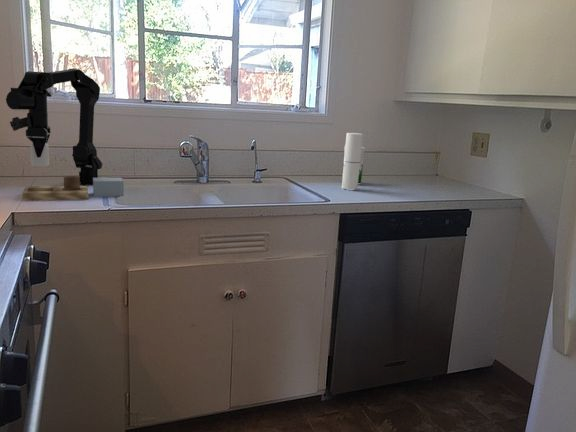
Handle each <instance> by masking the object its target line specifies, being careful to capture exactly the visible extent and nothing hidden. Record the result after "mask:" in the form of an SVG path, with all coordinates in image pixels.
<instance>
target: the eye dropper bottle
mask: <svg viewBox="0 0 576 432" xmlns="http://www.w3.org/2000/svg"><path fill="white" fill-rule="evenodd" d="M49 146H50V145H49V144H48V142H47V143H46V144H45V146H44V149H43V152H42V155H41V157H37V156H36V152H35V149H34V145H33V142H31V143H30V147H29V149H30V165H31V166H32V167H35V168H36V167H37V168H38V167H39V168H40V167H41V168H42V167H49V166H50V150H49V149H50V148H49Z"/></svg>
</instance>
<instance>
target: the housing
mask: <svg viewBox="0 0 576 432" xmlns="http://www.w3.org/2000/svg"><path fill="white" fill-rule="evenodd" d="M92 187H93V188H92V189H93V190H92V193H93V197H94V198H95V197H99V198H102V197H107V198H108V197H124V196H125V193H124V188H125V187H124V179H123V178H122V177H98V178H93V185H92Z"/></svg>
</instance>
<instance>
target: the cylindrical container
mask: <svg viewBox="0 0 576 432" xmlns="http://www.w3.org/2000/svg"><path fill="white" fill-rule="evenodd" d="M363 135H364V134H363V133H360V132H358V133H357V132H346V135H345V136H346V137H345V144H344V146H345V156H343V164H344V167H343V166H342V175H343V178H342V177H341V178H342V179H341V189H342V188H345V189H357V190H358V187H359V186H358V178H359V168H360V158H361V148H362V147H363Z"/></svg>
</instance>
